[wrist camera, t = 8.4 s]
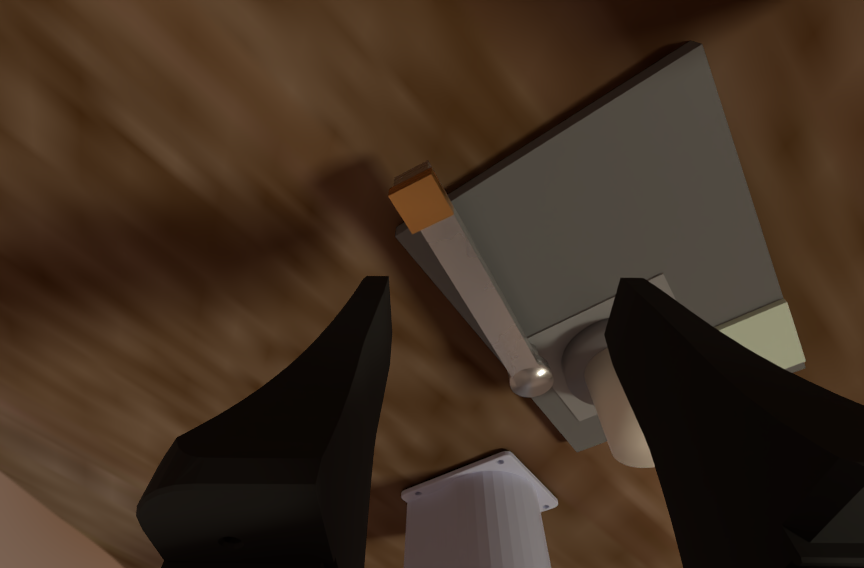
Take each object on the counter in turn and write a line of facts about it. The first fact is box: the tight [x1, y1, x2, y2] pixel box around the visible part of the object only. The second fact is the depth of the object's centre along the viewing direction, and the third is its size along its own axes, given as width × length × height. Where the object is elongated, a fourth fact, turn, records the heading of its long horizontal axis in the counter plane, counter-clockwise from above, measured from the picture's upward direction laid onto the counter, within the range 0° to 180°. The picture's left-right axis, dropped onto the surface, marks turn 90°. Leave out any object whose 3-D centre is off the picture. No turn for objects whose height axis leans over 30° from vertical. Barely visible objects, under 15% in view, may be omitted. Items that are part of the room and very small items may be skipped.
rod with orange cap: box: [388, 160, 553, 397], centre depth 21 cm, size 14×2×2 cm, turn 28°
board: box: [395, 41, 805, 452], centre depth 24 cm, size 14×20×2 cm
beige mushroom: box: [561, 318, 655, 468], centre depth 23 cm, size 6×6×6 cm
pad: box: [714, 299, 806, 369], centre depth 25 cm, size 5×5×1 cm
